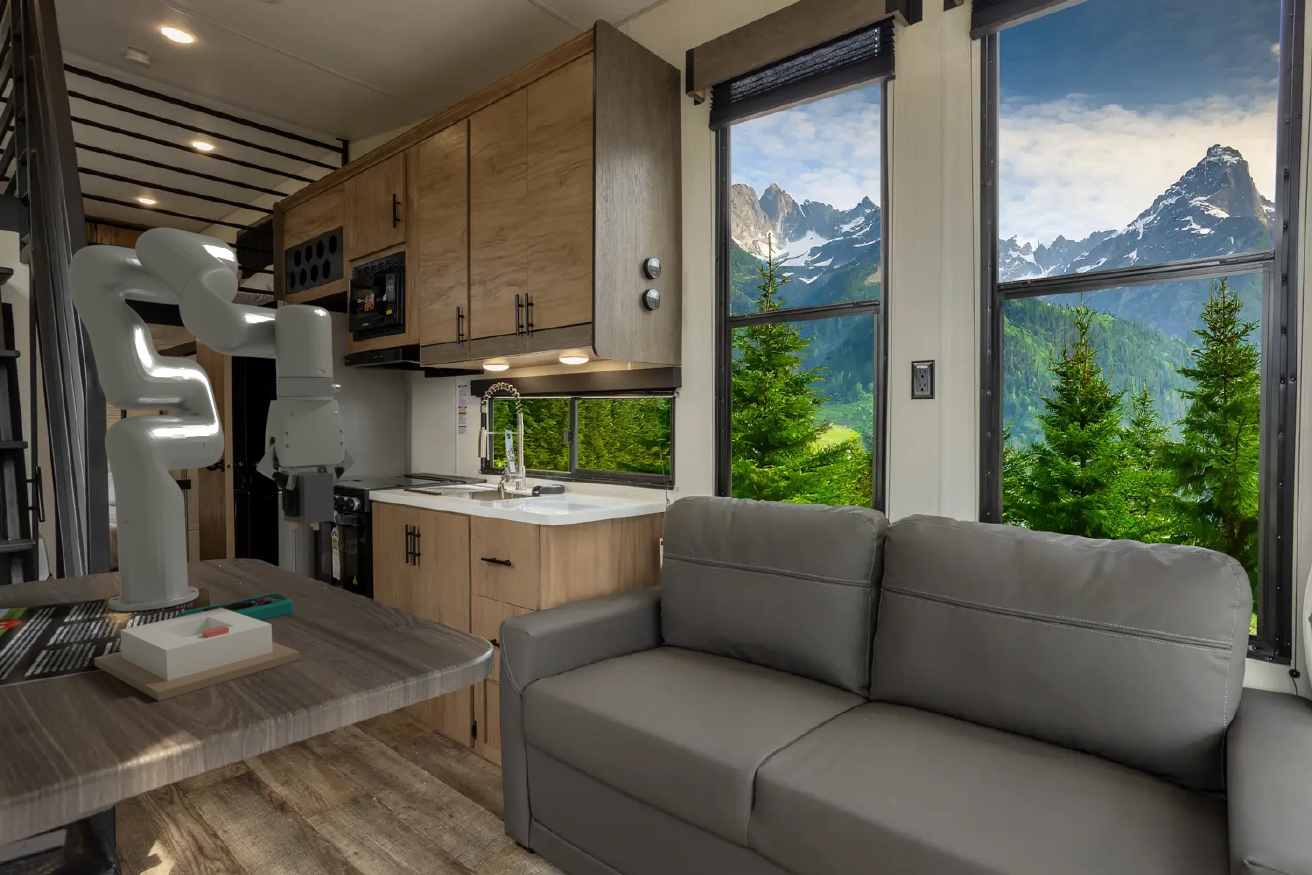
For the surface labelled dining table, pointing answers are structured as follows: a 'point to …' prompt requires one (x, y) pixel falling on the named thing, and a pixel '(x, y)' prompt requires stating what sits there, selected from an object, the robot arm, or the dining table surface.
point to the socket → (194, 652)
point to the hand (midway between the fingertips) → (309, 512)
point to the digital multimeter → (253, 607)
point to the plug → (314, 499)
